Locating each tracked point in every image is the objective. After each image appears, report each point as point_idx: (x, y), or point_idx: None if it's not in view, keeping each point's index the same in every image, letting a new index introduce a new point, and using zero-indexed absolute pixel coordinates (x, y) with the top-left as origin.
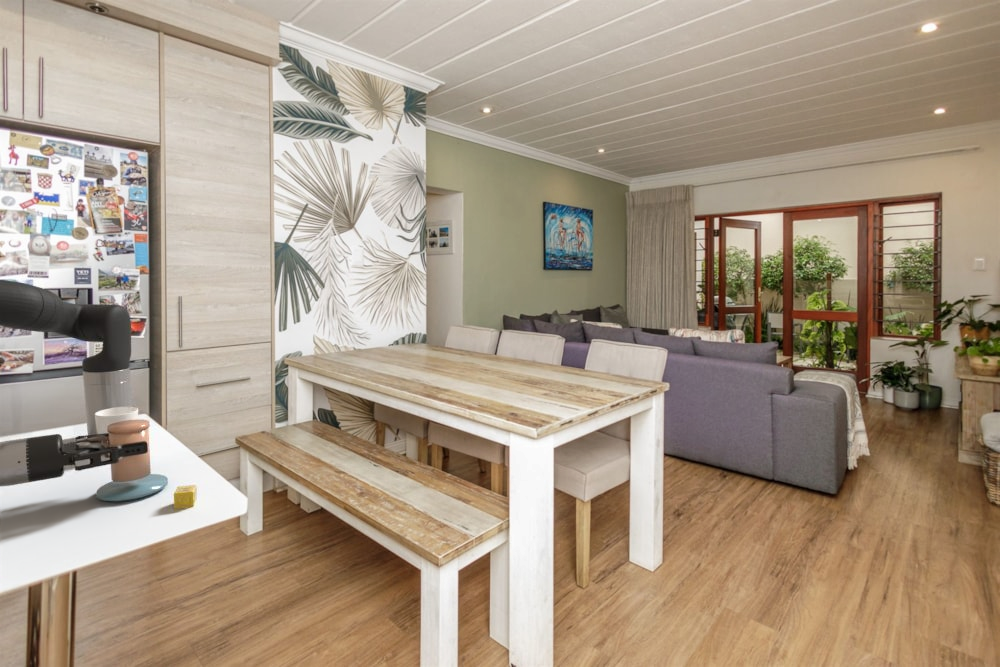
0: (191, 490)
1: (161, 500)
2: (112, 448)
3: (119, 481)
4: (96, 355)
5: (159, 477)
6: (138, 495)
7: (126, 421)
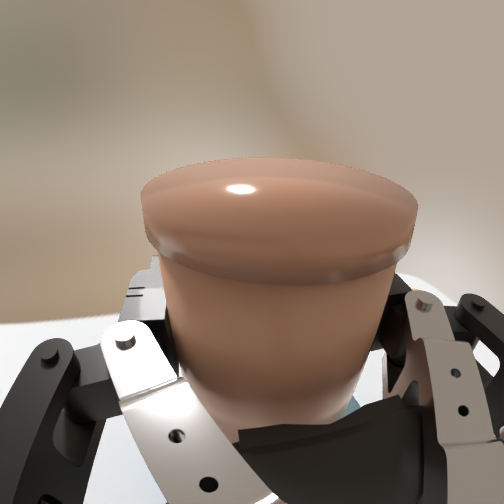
0: (413, 290)
1: (364, 370)
2: (481, 304)
3: None
4: None
5: None
6: (360, 407)
7: (175, 187)
